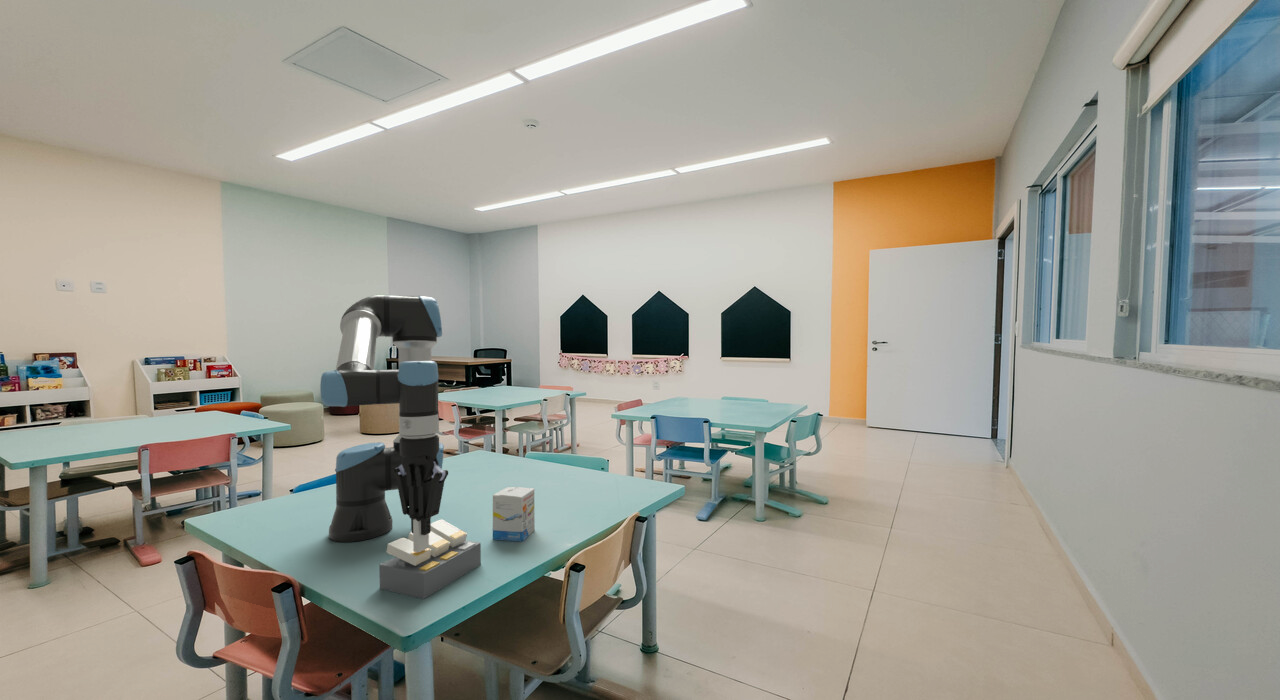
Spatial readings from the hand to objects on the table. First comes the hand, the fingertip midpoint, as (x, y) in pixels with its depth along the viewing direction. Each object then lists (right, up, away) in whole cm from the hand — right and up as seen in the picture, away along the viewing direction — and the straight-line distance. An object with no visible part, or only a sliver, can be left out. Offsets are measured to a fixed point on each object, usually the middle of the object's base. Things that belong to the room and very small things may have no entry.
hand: (421, 549), depth 105 cm
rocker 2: (-1, -1, +6) cm, 7 cm away
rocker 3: (+1, -1, +11) cm, 12 cm away
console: (0, -8, +6) cm, 10 cm away
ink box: (+12, -8, +30) cm, 33 cm away
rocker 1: (-3, -1, +1) cm, 3 cm away
